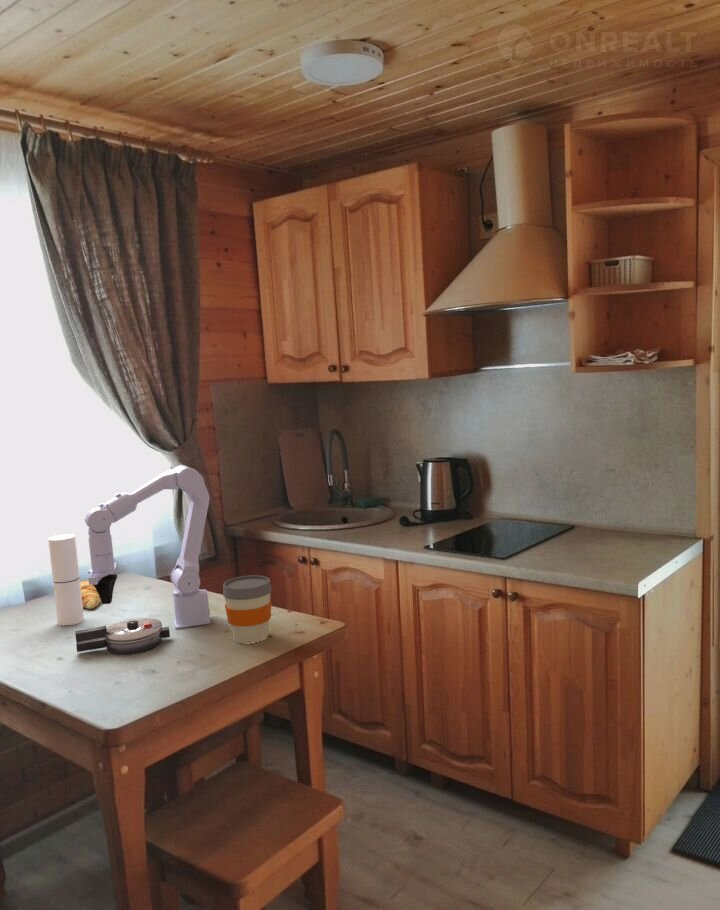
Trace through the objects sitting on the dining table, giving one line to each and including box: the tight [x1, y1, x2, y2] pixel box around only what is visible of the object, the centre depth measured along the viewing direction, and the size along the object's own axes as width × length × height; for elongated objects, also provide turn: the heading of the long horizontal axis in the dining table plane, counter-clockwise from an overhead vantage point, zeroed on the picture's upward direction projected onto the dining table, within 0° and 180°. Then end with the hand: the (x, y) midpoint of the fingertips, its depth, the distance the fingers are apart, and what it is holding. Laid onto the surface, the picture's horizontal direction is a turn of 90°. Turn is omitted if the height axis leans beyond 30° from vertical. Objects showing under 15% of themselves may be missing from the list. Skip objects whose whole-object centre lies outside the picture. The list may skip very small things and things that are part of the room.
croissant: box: [80, 579, 102, 610], centre depth 238 cm, size 21×10×8 cm, turn 33°
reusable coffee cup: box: [222, 574, 273, 644], centre depth 197 cm, size 13×12×15 cm
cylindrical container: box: [48, 533, 85, 627], centre depth 218 cm, size 7×7×25 cm
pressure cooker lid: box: [74, 617, 163, 642], centre depth 196 cm, size 21×15×2 cm
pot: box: [75, 626, 171, 656], centre depth 197 cm, size 23×14×4 cm, turn 108°
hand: (106, 603), depth 202 cm, fingers closed
